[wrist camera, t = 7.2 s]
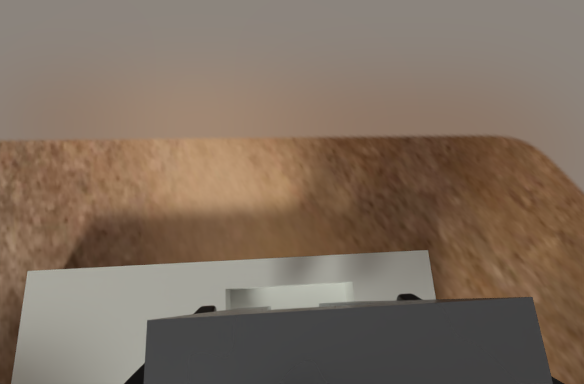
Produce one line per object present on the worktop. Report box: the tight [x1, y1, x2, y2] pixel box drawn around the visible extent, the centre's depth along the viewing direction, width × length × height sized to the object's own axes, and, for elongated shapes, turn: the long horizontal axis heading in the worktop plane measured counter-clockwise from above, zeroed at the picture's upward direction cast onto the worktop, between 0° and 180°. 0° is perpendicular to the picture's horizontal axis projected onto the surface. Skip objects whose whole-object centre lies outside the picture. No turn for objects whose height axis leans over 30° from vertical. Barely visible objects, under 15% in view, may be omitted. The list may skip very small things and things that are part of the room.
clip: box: [144, 297, 553, 384], centre depth 10 cm, size 3×5×12 cm, turn 93°
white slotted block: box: [11, 250, 436, 384], centre depth 20 cm, size 8×22×3 cm, turn 93°
